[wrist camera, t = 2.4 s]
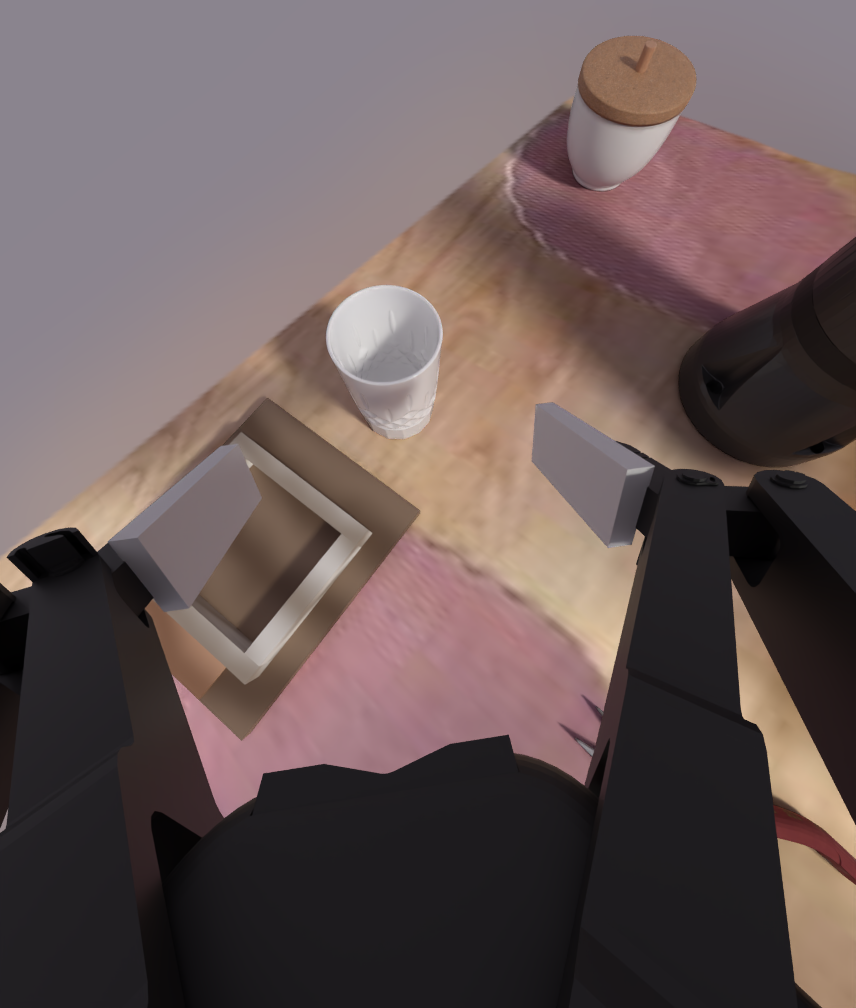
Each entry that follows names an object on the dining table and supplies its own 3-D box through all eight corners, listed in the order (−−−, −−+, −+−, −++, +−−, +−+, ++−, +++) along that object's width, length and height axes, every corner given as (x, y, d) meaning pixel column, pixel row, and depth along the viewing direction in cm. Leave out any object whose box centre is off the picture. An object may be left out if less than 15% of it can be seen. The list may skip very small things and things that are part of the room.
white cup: (375, 458, 31) (350, 402, 21) (346, 389, 32) (309, 308, 22) (452, 426, 31) (462, 358, 22) (419, 361, 33) (414, 269, 23)
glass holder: (273, 404, 32) (256, 385, 29) (420, 513, 29) (419, 505, 26) (99, 590, 28) (57, 591, 25) (250, 733, 26) (225, 754, 22)
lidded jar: (536, 184, 38) (570, 59, 29) (575, 126, 40) (619, -8, 31) (623, 220, 37) (687, 101, 27) (658, 159, 39) (729, 28, 29)
